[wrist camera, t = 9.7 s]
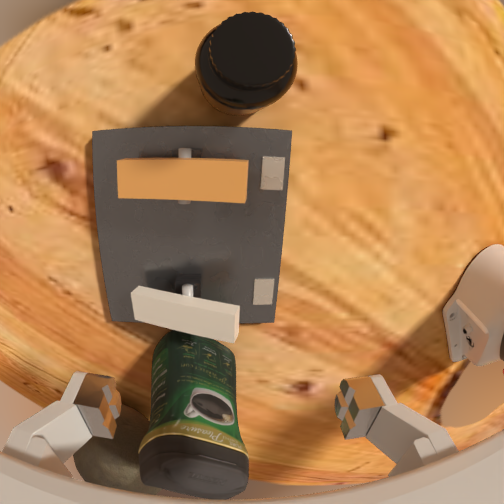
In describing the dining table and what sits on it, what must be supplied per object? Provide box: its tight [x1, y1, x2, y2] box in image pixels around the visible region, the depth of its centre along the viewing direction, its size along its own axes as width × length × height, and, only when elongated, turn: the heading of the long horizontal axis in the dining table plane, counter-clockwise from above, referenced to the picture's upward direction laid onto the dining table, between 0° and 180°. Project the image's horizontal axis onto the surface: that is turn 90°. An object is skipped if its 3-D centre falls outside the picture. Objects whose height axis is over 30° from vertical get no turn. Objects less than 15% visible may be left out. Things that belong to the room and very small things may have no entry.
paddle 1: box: [117, 148, 249, 204], centre depth 23 cm, size 10×4×2 cm, turn 87°
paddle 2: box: [131, 284, 240, 343], centre depth 27 cm, size 10×4×2 cm, turn 87°
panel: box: [92, 126, 292, 323], centre depth 28 cm, size 18×20×3 cm
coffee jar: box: [138, 330, 249, 500], centre depth 27 cm, size 10×8×19 cm
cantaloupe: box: [73, 404, 162, 495], centre depth 33 cm, size 14×14×15 cm
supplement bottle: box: [195, 12, 297, 115], centre depth 19 cm, size 7×7×12 cm
